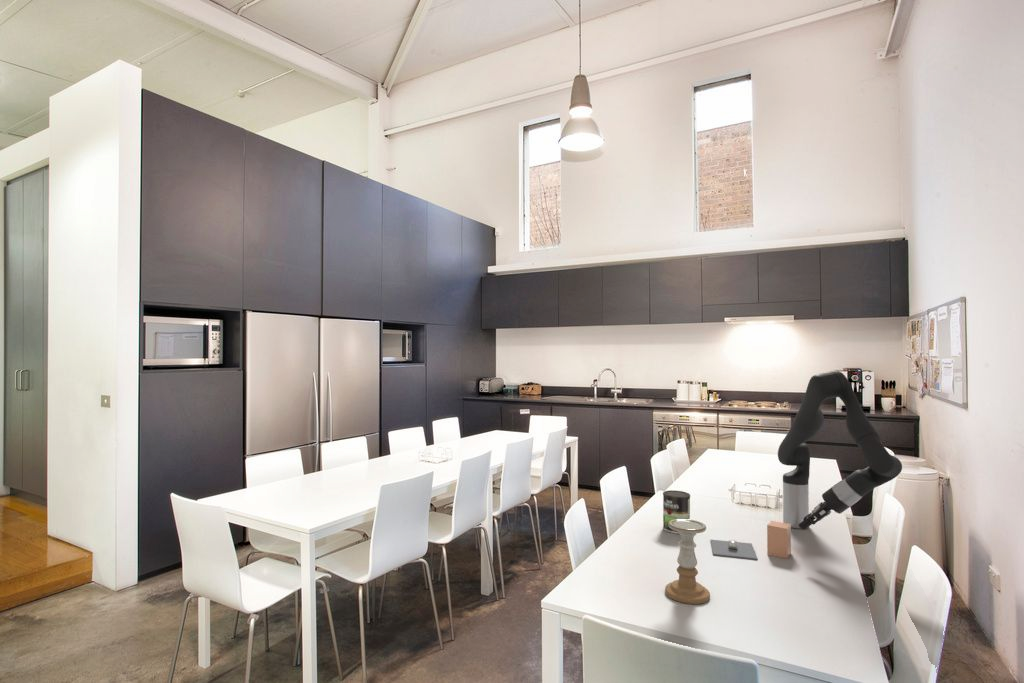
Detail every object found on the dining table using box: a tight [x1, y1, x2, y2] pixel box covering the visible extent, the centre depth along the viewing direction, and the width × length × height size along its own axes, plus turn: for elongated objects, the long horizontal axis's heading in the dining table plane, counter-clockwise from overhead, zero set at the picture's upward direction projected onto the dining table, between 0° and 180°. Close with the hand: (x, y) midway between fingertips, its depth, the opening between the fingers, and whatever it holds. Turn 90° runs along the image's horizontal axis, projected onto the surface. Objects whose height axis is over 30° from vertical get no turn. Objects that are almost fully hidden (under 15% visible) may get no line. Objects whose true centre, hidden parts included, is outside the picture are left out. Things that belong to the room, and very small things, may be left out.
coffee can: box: [662, 489, 691, 535], centre depth 212 cm, size 10×10×14 cm
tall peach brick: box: [766, 520, 792, 559], centre depth 187 cm, size 6×6×10 cm
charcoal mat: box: [710, 539, 759, 561], centre depth 190 cm, size 15×14×1 cm
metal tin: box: [727, 539, 738, 550], centre depth 190 cm, size 3×3×2 cm
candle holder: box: [664, 519, 711, 605], centre depth 155 cm, size 12×12×20 cm
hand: (803, 524), depth 183 cm, fingers open, 8 cm apart
